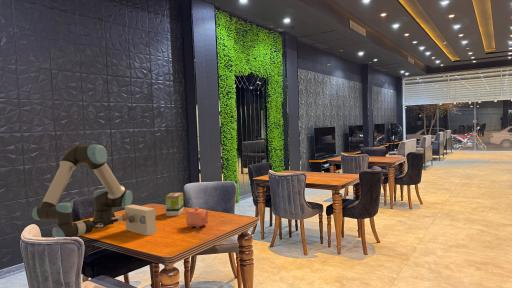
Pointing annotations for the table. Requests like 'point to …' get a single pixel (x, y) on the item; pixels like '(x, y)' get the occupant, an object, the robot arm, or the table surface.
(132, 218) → the grey button
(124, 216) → the terracotta button
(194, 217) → the teapot
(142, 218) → the dark grey button
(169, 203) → the tea box
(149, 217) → the button panel
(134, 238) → the table surface
